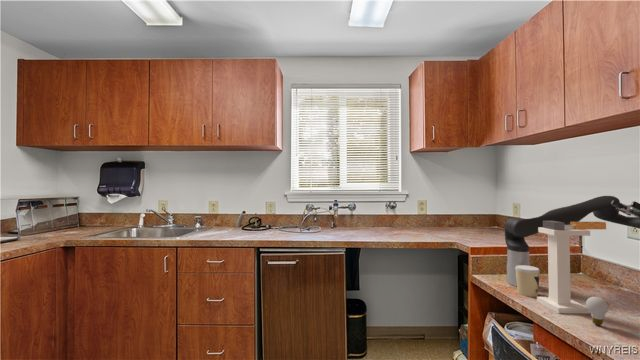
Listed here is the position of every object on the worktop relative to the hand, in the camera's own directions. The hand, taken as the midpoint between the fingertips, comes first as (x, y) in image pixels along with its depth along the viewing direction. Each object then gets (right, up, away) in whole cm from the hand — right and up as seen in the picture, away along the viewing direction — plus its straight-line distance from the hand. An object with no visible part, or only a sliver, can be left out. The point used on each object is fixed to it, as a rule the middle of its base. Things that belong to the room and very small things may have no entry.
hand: (621, 202), depth 121 cm
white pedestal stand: (-22, -43, +2) cm, 48 cm away
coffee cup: (-26, -43, +17) cm, 53 cm away
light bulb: (-23, -43, -14) cm, 51 cm away
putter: (-17, -11, +2) cm, 20 cm away
